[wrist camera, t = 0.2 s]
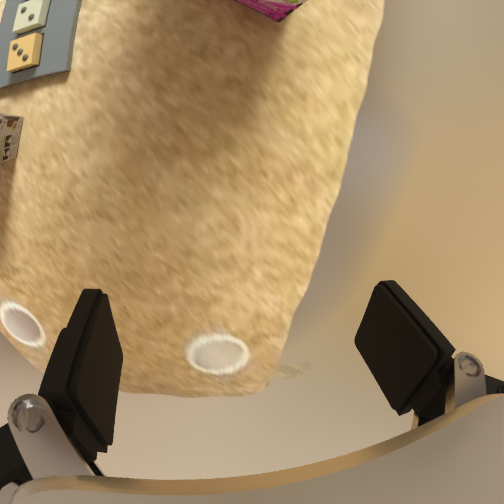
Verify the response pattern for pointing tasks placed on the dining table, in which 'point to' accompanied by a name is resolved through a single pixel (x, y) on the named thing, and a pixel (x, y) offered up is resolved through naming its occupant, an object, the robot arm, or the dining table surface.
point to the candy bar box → (274, 7)
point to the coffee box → (9, 136)
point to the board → (54, 43)
